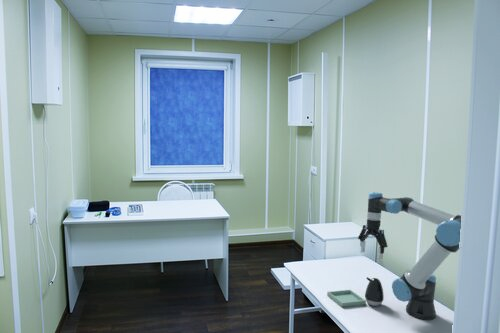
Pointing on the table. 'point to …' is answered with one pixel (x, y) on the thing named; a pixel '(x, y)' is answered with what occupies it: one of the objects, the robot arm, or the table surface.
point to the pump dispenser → (374, 292)
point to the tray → (346, 298)
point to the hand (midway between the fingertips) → (371, 255)
